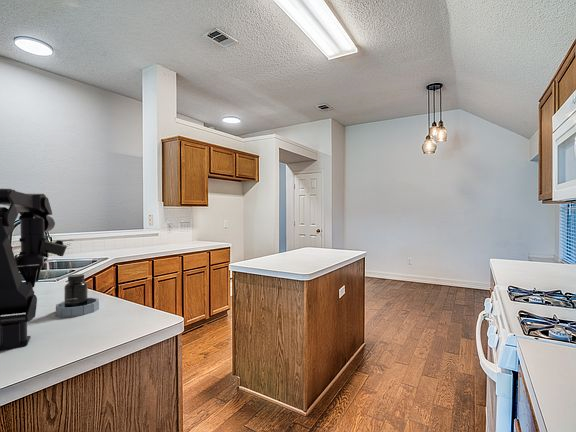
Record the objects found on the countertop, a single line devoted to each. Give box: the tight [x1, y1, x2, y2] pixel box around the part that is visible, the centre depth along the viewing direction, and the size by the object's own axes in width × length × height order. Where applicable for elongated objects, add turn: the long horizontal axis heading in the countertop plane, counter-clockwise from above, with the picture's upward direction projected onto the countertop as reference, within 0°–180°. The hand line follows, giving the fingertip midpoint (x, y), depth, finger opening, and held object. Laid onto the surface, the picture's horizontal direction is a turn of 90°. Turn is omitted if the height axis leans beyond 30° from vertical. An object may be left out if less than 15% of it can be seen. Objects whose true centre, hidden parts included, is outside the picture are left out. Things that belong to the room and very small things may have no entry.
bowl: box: [55, 297, 100, 318], centre depth 111 cm, size 13×13×3 cm
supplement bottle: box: [63, 273, 89, 307], centre depth 111 cm, size 7×7×12 cm
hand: (33, 284), depth 96 cm, fingers open, 9 cm apart
